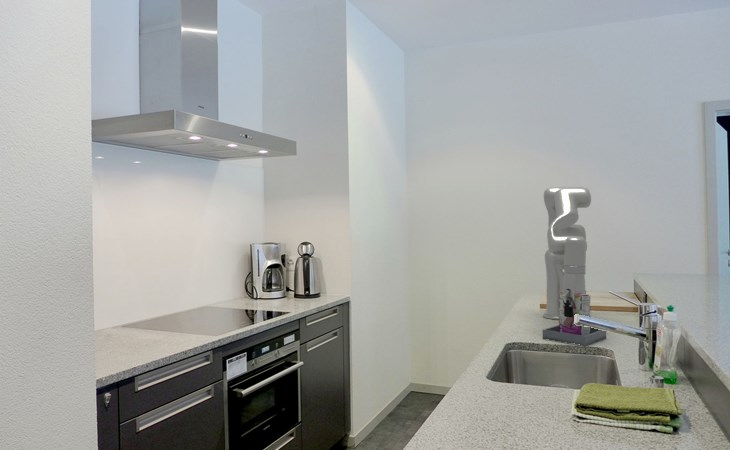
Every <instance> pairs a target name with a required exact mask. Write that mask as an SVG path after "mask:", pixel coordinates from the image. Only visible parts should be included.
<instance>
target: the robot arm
mask: <svg viewBox="0 0 730 450" xmlns="http://www.w3.org/2000/svg"><path fill="white" fill-rule="evenodd" d="M543 203H544V206H545V208H546V210H547V211H546V212H547V216H548V223H547V225H548V226H547V227H548V229H547V231H546V232H547V237H546V239H547V248H548V249H547V250H546V251H545V254H544V264H545V269H546V271H545V272H546V312H545V313H543V314H542V316H543V318H545V319H548V320H549V319H550V320H558V321H559V292H560V291H562V299H563V303H564V316H565V317H571V318H572V317H573V307H572V304H573V302H574V301H576V295H577V294H581V293H583V294H587V290H586V278H585V276H586V263H587V261H586V260H587V259H586V257H587V250H588V242H587V232H586V229H585V227H584V226H583V225H581V224H577V222H578V221H579V217H580V216H579V211H578V209H582V208H584V209H586V208H589V207H590V205H591V203H592V195H591V192H590V190H589V189H588V188H587V187H583V186H558V187H557V186H554V187H549V188H546V189H544V192H543ZM563 270H564V271H563ZM569 301H570V302H569Z"/></svg>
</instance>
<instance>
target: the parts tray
mask: <svg viewBox="0 0 730 450" xmlns="http://www.w3.org/2000/svg"><path fill="white" fill-rule="evenodd" d="M591 327H592V326H590V334H589V335H586V336H581V335H575V334H569V333H563V332H559V324H558V325H555V326H551V327H548V328H544V329H542V340H546V339H549V340H548V341H551V340H555V341H554V342H557V341H561V342H560V343H563V342H567V343H566V344H569V343H575V344H580V345H583V346H582V347H587V346H586V345H588V346H590V345H592V343H593V344H595V343H598V342H600V341H603V340H605V339H607V330H606V331H602V330H598V329H594V328H595V327H594V328H591ZM589 344H590V345H589ZM580 345H579V346H580Z"/></svg>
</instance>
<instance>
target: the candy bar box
mask: <svg viewBox="0 0 730 450" xmlns="http://www.w3.org/2000/svg"><path fill="white" fill-rule="evenodd" d="M569 302H570V301H569ZM572 307H573V317H572V318H571V317H565V316H564V303H563V299H562V291H560V292H559V320H558V325H559V332H563V333H569V334H575V335H581V336H586V335H589V334H590V327H591V326H590V327H582V326H576V325H575V324H574V315H575V314H579V315H585V316H589V317H590V318H591V294H588V293H586V294H583V293H581V294H577V295H576V301H574V302H573V304H572Z"/></svg>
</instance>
